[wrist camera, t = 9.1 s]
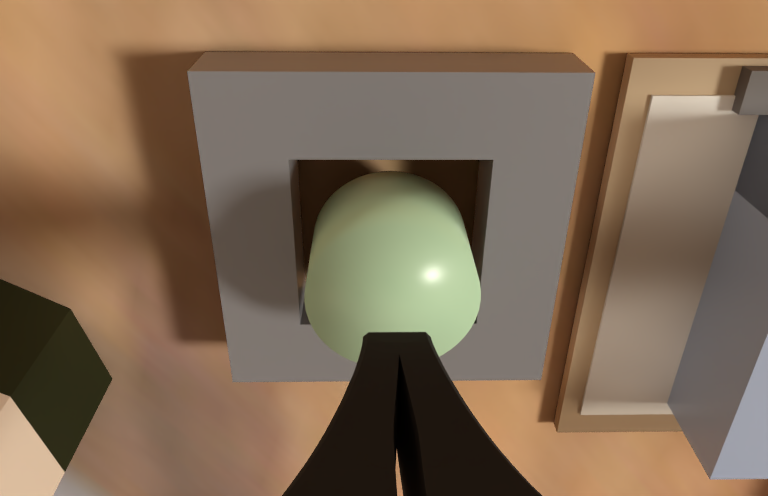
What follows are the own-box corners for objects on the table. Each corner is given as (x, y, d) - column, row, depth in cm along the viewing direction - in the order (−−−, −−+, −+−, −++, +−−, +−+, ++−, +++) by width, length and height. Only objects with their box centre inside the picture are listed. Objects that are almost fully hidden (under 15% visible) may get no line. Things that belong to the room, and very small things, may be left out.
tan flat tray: (834, 420, 25) (851, 439, 24) (553, 422, 25) (560, 442, 24) (1019, 54, 18) (1052, 64, 17) (627, 53, 17) (640, 62, 17)
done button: (459, 302, 20) (473, 367, 17) (316, 303, 20) (308, 368, 17) (471, 170, 17) (488, 223, 15) (309, 171, 17) (299, 223, 15)
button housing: (527, 341, 22) (540, 380, 21) (243, 342, 22) (232, 382, 21) (572, 53, 17) (595, 72, 16) (205, 51, 17) (186, 71, 15)
